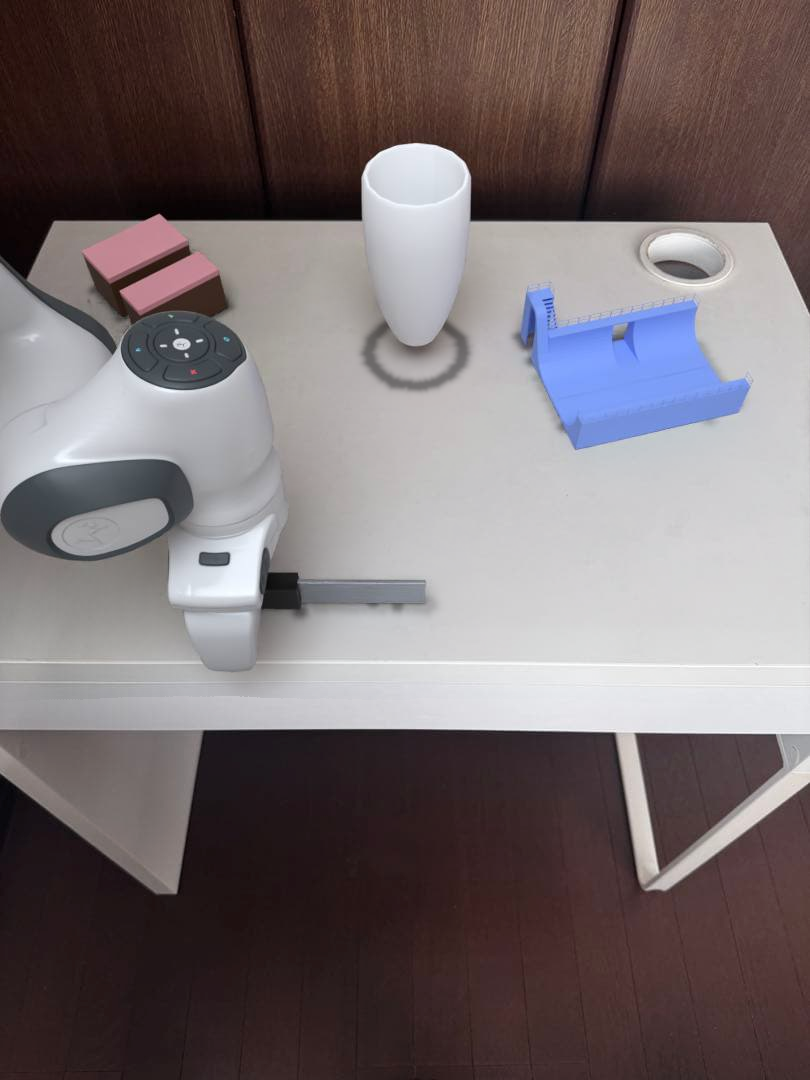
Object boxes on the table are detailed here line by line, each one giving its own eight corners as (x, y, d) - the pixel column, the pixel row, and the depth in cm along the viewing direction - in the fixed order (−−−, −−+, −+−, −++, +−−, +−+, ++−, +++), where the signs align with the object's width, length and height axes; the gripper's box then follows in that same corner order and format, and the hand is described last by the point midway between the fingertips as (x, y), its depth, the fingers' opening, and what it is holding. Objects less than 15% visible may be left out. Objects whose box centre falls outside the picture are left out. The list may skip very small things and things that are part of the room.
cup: (352, 370, 94) (338, 194, 76) (390, 307, 99) (385, 129, 81) (442, 397, 91) (450, 223, 73) (477, 332, 97) (491, 154, 78)
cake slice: (151, 349, 96) (138, 310, 91) (133, 329, 97) (119, 290, 93) (227, 308, 99) (218, 269, 94) (208, 289, 101) (199, 250, 96)
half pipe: (575, 449, 87) (587, 401, 81) (519, 337, 96) (527, 285, 90) (738, 412, 90) (761, 362, 84) (670, 305, 99) (687, 253, 93)
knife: (210, 609, 77) (202, 589, 74) (212, 591, 78) (205, 571, 75) (424, 610, 77) (425, 590, 74) (424, 592, 78) (425, 572, 75)
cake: (122, 317, 98) (107, 278, 94) (96, 289, 101) (81, 250, 96) (197, 278, 102) (187, 239, 97) (170, 252, 104) (159, 213, 100)
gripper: (202, 394, 70) (230, 495, 82) (163, 620, 59) (202, 699, 71) (280, 395, 70) (298, 495, 82) (256, 620, 59) (280, 700, 71)
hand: (253, 591), depth 76 cm, fingers closed on knife, 2 cm apart
